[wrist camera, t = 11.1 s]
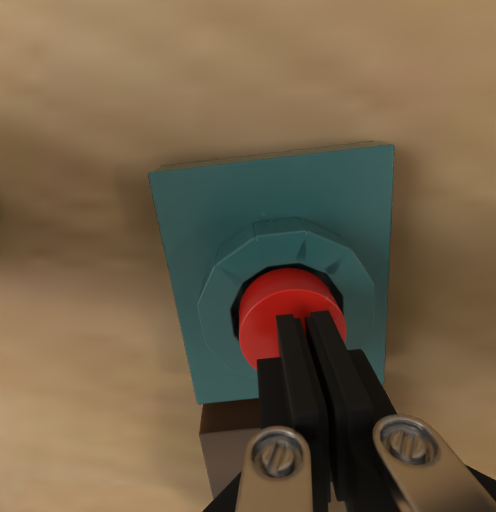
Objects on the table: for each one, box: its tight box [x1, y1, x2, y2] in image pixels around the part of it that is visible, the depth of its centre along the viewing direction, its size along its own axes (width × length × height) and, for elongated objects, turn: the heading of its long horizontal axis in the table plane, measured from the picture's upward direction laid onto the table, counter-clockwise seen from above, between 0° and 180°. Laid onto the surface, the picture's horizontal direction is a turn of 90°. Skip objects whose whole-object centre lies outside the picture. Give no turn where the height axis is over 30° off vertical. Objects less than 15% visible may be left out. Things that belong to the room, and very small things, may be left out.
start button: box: [239, 268, 347, 370], centre depth 12 cm, size 4×4×2 cm
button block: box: [148, 141, 395, 404], centre depth 14 cm, size 11×9×4 cm
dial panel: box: [199, 398, 347, 511], centre depth 19 cm, size 11×9×3 cm
